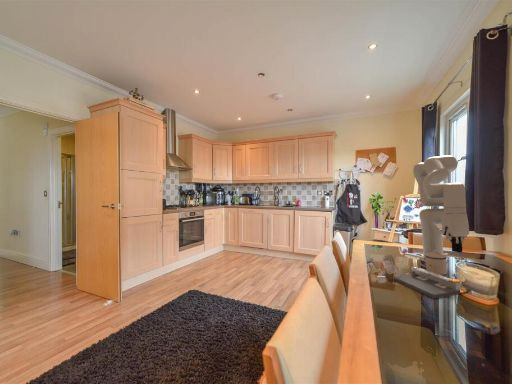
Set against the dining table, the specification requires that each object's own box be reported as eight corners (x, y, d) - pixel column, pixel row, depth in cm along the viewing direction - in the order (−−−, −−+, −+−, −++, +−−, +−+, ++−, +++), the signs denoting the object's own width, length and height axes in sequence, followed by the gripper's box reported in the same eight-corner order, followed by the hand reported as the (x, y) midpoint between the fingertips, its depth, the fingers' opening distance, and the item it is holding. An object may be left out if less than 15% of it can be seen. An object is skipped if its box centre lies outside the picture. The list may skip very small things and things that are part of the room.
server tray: (422, 274, 117) (422, 270, 117) (468, 292, 97) (468, 287, 97) (393, 279, 114) (393, 275, 114) (434, 298, 93) (433, 293, 93)
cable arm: (409, 271, 116) (409, 265, 116) (415, 270, 117) (415, 264, 117) (455, 289, 94) (455, 282, 94) (462, 288, 95) (461, 281, 95)
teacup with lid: (445, 270, 121) (444, 248, 121) (448, 276, 113) (447, 253, 113) (418, 267, 127) (417, 247, 127) (419, 273, 120) (418, 251, 120)
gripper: (458, 209, 106) (461, 248, 106) (433, 211, 103) (435, 251, 103) (477, 210, 99) (480, 252, 99) (450, 212, 96) (452, 255, 96)
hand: (457, 251), depth 101 cm, fingers closed
